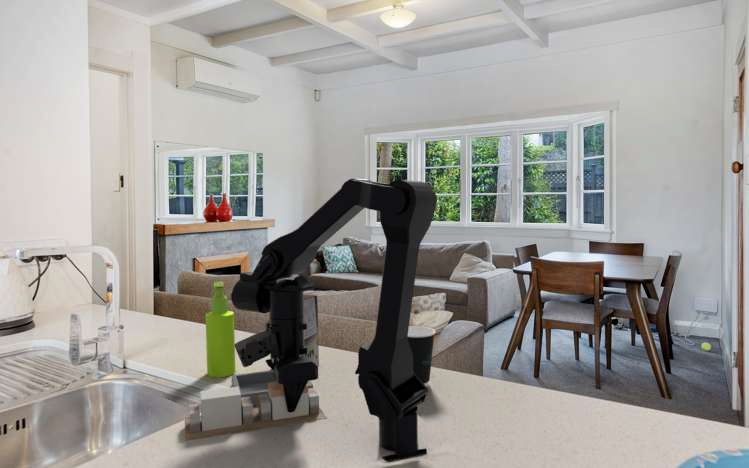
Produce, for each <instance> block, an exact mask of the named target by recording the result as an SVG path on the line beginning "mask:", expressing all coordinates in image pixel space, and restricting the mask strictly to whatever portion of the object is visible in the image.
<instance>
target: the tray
mask: <svg viewBox="0 0 749 468" xmlns="http://www.w3.org/2000/svg"><path fill="white" fill-rule="evenodd" d="M273 374H275V371H274V370H273V369H271V370H263V371H256V372H254V371H253V372H247V373H239V374H233V375H231V387H239V390H240V393H241V398H243V397H250V399H251V402H252V405H253V406H254V405H258V395H265V394H267V396H268V398H269V387H268V383H269V382H277V380H276V379H275V378H274V376H273ZM311 381H312V380H311ZM311 381H308V383H307V385H308V389H310V388H314V384H313V383H312V382H311Z"/></svg>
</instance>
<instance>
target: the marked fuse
mask: <svg viewBox="0 0 749 468" xmlns="http://www.w3.org/2000/svg"><path fill="white" fill-rule="evenodd" d="M268 387H269V400H270V402H271V417H272V419H273V420H278V419H284V418H291V417H297V416H304V415H309V401H308V385H306V387H305V389H304V391H303V393H302V395H301V398H300V400H299V402H298V405H297V407H296V409H295V411H294V412H288V410H287V406H286V401H285V396H284V391H283V386H282V384H279V383H278V382H269V383H268Z"/></svg>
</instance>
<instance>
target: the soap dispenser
mask: <svg viewBox="0 0 749 468" xmlns="http://www.w3.org/2000/svg"><path fill="white" fill-rule="evenodd" d="M224 284H225V283H224V281H214V282H213V289H214V294H215V295H213V296H212V297H211V298H210V302H211V303H210V305H211V306H210V307H211V311H210V312H207V313H206V314H205V341H206V342H205V343H206V345H205V346H206V371H207V372H206V374H207V376H208V377H210V378H216V379H217V378H226V376H227V377H230V376H232V374H233V375H235V373H236V349H235V346H234V345H235V344H236V343H235V342H236V341H235V340H236V339H235V312H234V311H231V310H229V308H228V307H229V306H228V305H229V304H228V296H227V295H225V294H224Z"/></svg>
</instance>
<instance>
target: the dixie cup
mask: <svg viewBox="0 0 749 468" xmlns="http://www.w3.org/2000/svg"><path fill="white" fill-rule="evenodd" d="M436 333H437V332H436V330H435V329H434V328H432V327H428V326H420V325H412V326H410V325H409V329H408V342H409V345H410V348H411V351H412V354H413V371H414V372H415V374H416V375H417V376H418V377H419V379H420V380H421V381H422V382H423V384H424V385H425V386H426V387H427V388H428V386H429V382H430V378H431V377H430V376H431V369H432V358H433V350H434V342H435V341H434V340H435V334H436Z"/></svg>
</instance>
